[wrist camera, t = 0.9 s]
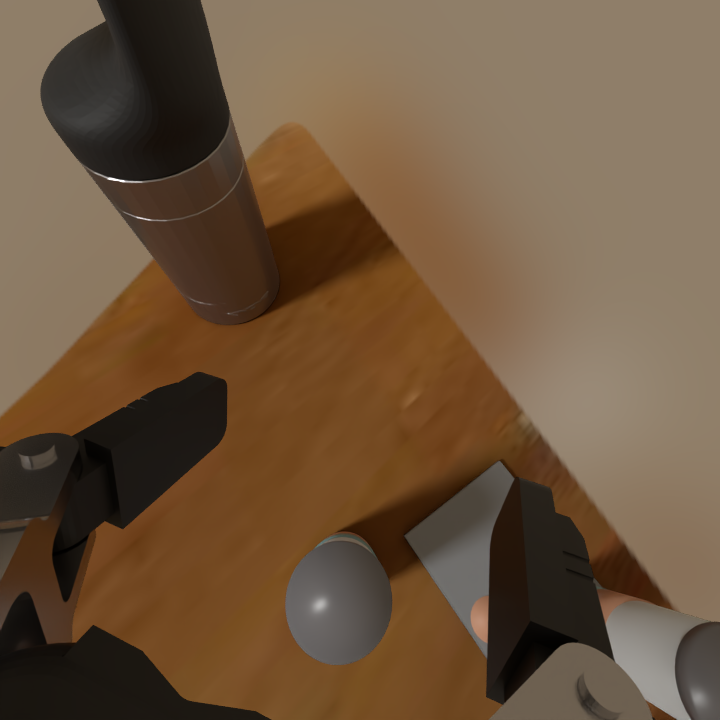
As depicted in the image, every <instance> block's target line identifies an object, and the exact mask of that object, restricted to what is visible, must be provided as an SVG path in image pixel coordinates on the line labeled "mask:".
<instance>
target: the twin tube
mask: <svg viewBox="0 0 720 720" xmlns="http://www.w3.org/2000/svg"><path fill="white" fill-rule="evenodd" d="M596 588H597V592H598V596H599V600H600V604H601V608H602V612H603V616H604V620H605V624H606V628H607V632H608V636H609V640H610V644H611V648H612V652H613V656H614V659H615V662H616V663H617V664H618V665H619V666H620V667H621V668H622V669H623V670H624V671H625V672H626V673H627V674H628V675H629V677H630V678H631V679H632V680H633V682H634V683H635V684H636V686H637V687H638V689H639V690H640V692H641V693H642V695H643V697H644V699H645V700H646V701H648V702H650V703H652V704H653V705H655V706H656V707H658V708H660V709H661V710H663V711H664V712H666V713H668V714H669V715H671V716H672V717H674V718H676V719H677V720H720V622H711V621H708V620H704V619H701V618H697V617H694V616H690V615H687V614H684V613H681V612H677V611H674V610H670V609H667V608H664V607H660V606H657V605H655V604H654V603H651V602H649V601H646V600H643V599H639V598H636V597H632V596H629V595H625V594H622V593H619V592H615V591H611V590H608V589H605V588H601V587H598V586H596Z"/></svg>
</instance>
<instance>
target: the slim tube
mask: <svg viewBox="0 0 720 720" xmlns="http://www.w3.org/2000/svg"><path fill="white" fill-rule="evenodd" d="M285 606H286V616H287V621H288V625H289V628H290V631H291V633H292V635H293V637H294V639H295V640H296V642H297V643H298V645H299V646H300V647H301V648H302V649H303V650H304V651H305V652H306V653H307V654H308V655H310V656H311V657H312V658H314V659H316V660H318V661H320V662H323V663H326V664H332V665H344V664H349V663H352V662H355V661H358V660H359V659H361V658H363V657H365V656H366V655H367V654H369V653H370V652H371V651H372V650H373V649H374V648H375V647H376V646H377V644H378V643H379V642H380V641H381V639H382V637H383V636H384V634H385V632H386V629H387V627H388V624H389V621H390V617H391V611H392V593H391V586H390V583H389V579H388V577H387V574H386V572H385V570H384V568H383V567H382V565H381V563H380V562H379V561H378V559H377V557H376V555H375V553H374V552H373V550H372V548H371V547H370V545H369V544H368V543H367V541H366V540H365V539H363V538H362V537H361V536H359V535H358V534H355V533H352V532H347V531H341V532H336V533H334V534H331V535H330V536H328V537H326V538H325V539H324V540H323V541H322V542H321V543H320V544H318V545H317V546H316V547H315V548H314V549H313V550H312V551H311V552H309V553H308V554H307V555H306V556H305V557H304V558H303V559H302V560H301V561H300V563H299V564H298V565H297V567H296V568H295V570H294V572H293V574H292V576H291V579H290V581H289V584H288V588H287V593H286V605H285Z"/></svg>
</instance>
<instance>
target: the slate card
mask: <svg viewBox="0 0 720 720" xmlns="http://www.w3.org/2000/svg"><path fill="white" fill-rule="evenodd" d="M513 481H514V478H513V476H512V475H511V474H510V473H509V471H508V470H507V469H506V468H505V467H504V465H503V464H502V463H501V462H500V461H497V462H496V463H495V464H493V465H492V466H491V467H490V468H488V469H487V470H486V471H485V472H483V473H482V474H481V475H480V476H478V477H477V478H476V479H475V480H473V481H472V482H471V483H469V484H468V485H467V486H466V487H464V488H463V489H462V490H461V491H459V492H458V493H457V494H456V495H454V496H453V497H452V498H451V499H449V500H448V501H447V502H446V503H444V504H443V505H442V506H441V507H439V508H438V509H437V510H435V511H434V512H433V513H432V514H430V515H429V516H428V517H427V518H425V519H424V520H423V521H422V522H420V523H419V524H418V525H417V526H415V527H414V528H413V529H412V530H410V531H409V532H408V533H407V534H405V535H404V537H405V538H406V540H407V541H408V543H409V544H410V546H411V547H412V549H413V550H414V552H415V553H416V555H417V556H418V558H419V559H420V561H421V562H422V564H423V565H424V567H425V568H426V570H427V571H428V572H429V574H430V575H431V577H432V578H433V580H434V581H435V583H436V584H437V586H438V587H439V589H440V590H441V592H442V593H443V595H444V596H445V598H446V599H447V601H448V602H449V604H450V605H451V606H452V608H453V609H454V611H455V612H456V614H457V615H458V617H459V618H460V620H461V621H462V623H463V624H464V626H465V627H466V629H467V630H468V632H469V633H470V635H471V636H472V638H473V639H474V640H475V642H476V643H477V645H478V646H479V648H480V649H481V651H482V652H483V654H484V655H485V657H486V658H487V644H488V601H489V558H490V541H491V536H492V531H493V528H494V524H495V522H496V519H497V517H498V515H499V512H500V510H501V508H502V505H503V503H504V501H505V499H506V496H507V494H508V492H509V489H510V487H511V485H512V483H513ZM593 583H595V584H596V586H598V587H601V585H600V584H599V583H598V582H597V580H596V579H595V578H594V580H593ZM601 588H602V587H601Z"/></svg>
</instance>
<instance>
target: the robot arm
mask: <svg viewBox="0 0 720 720" xmlns="http://www.w3.org/2000/svg"><path fill="white" fill-rule="evenodd" d="M97 1H98V3H99V6H100V8H101V10H102V13H103V15H104V17H105V19H106V21H105V22H103V23H102V24H100V25H98V26H96V27H94V28H93V29H91V30H89V31H87V32H86V33H84V34H82V35H80V36H78V37H77V38H75V39H74V40H72V41H71V42H70V43H69V44H67V45H66V46H65V47H64V48H63V49H62V50H61V51H60V52H59V53H58V54H57V55H56V56H55V57H54V59H53V60H52V61H51V63H50V64H49V66H48V68H47V70H46V72H45V74H44V77H43V79H42V83H41V101H42V106H43V109H44V111H45V114H46V116H47V118H48V120H49V121H50V123H51V125H52V126H53V128H54V129H55V131H56V132H57V133H58V135H59V136H60V137H61V139H62V140H63V141H64V143H65V144H66V145H67V147H68V148H69V149H70V151H71V152H72V153H73V154H74V156H75V157H76V158H77V159H78V160H79V162H80V163H81V164H82V166H83V167H84V168H85V169H86V171H87V172H88V173H89V175H90V176H91V177H92V179H93V180H94V181H95V183H96V184H97V185H98V186H99V188H100V189H101V190H102V192H103V193H104V194H105V195H106V197H107V198H108V199H109V200H110V202H111V203H112V204H113V206H114V207H115V208H116V210H117V211H118V212H119V213H120V215H121V216H122V217H123V218H124V220H125V221H126V223H127V224H128V225H129V226H130V228H131V229H132V230H133V232H134V233H135V234H136V236H137V237H138V238H139V239H140V241H141V242H142V243H143V245H144V246H145V247H146V249H147V250H148V251H149V253H150V254H151V255H152V257H153V258H154V259H155V260H156V262H157V263H158V264H159V266H160V267H161V268H162V270H163V271H164V272H165V274H166V275H167V276H168V277H169V279H170V280H171V281H172V283H173V284H174V285H175V287H176V288H177V290H178V291H179V292H180V293H181V295H182V296H183V297H184V299H185V300H186V301H187V303H188V304H189V305H190V306H191V308H192V309H193V310H194V311H195V312H196V313H197V314H198V315H199V316H200V317H202V318H204V319H205V320H207V321H210V322H213V323H216V324H223V325H232V324H239V323H243V322H247V321H249V320H251V319H254V318H256V317H257V316H259V315H260V314H262V313H263V312H264V311H265V310H266V309H267V308H268V307H269V306H270V305H271V304H272V302H273V301H274V299H275V298H276V295H277V292H278V290H279V282H280V279H279V272H278V269H277V266H276V262H275V259H274V256H273V252H272V248H271V245H270V242H269V238H268V235H267V232H266V228H265V225H264V222H263V218H262V215H261V212H260V209H259V205H258V202H257V199H256V195H255V192H254V189H253V185H252V182H251V179H250V175H249V172H248V169H247V165H246V162H245V159H244V155H243V152H242V149H241V146H240V144H239V140H238V136H237V133H236V130H235V126H234V123H233V120H232V117H231V113H230V110H229V106H228V102H227V99H226V96H225V92H224V89H223V86H222V82H221V78H220V75H219V71H218V66H217V62H216V58H215V54H214V50H213V45H212V41H211V37H210V33H209V29H208V26H207V22H206V18H205V14H204V11H203V8H202V4H201V0H97ZM226 427H227V383H226V381H225V380H224V379H221V378H218V377H215V376H212V375H208V374H205V373H202V372H196V373H194V374H193V375H191V376H189V377H187V378H186V379H184V380H182V381H181V382H179V383H174V384H170V385H167V386H163V387H160V388H157V389H155V390H153V391H151V392H149V393H148V394H146V395H144V396H142V397H141V398H140V400H138V399H137V400H135V401H134V402H132V403H130V404H128V405H127V407H126V408H125V407H123V408H121V409H119V410H118V411H116V412H114V413H112V414H110V415H109V416H107V417H105V418H103V419H102V420H100V421H98V422H96V423H95V424H93V425H91V426H89V427H87V428H86V429H84V430H82V431H80V432H79V433H77V434H75V435H73V436H69V435H67V434H61V433H46V434H39V435H34V436H30V437H27V438H24V439H21V440H19V441H17V442H14V443H13V444H11V445H9V446H7V447H0V720H271V719H269V718H267V717H265V716H263V715H262V714H260V713H258V712H256V711H251V710H244V709H238V708H231V707H225V706H218V705H212V704H205V703H199V702H192V701H188V700H186V699H184V698H182V697H181V696H180V695H179V694H178V693H177V691H176V690H175V689H174V688H173V687H172V685H171V684H170V683H169V682H168V681H167V680H166V678H165V677H164V676H163V675H162V674H161V673H160V671H159V670H158V669H157V668H156V667H155V665H154V664H153V663H152V662H151V661H150V660H149V658H148V657H147V656H146V655H145V654H144V652H143V651H141V650H140V649H138V648H136V647H134V646H132V645H130V644H128V643H126V642H124V641H123V640H121V639H119V638H117V637H115V636H113V635H111V634H109V633H108V632H106V631H104V630H102V629H100V628H98V627H96V626H94V625H93V626H92V627H91V628H90V629H89V630H88V631H87V632H86V633H85V634H84V635H83V636H82V637H81V638H80V639H79V640H78V641H77V642H76V643H72V625H73V617H74V612H75V608H76V605H77V601H78V598H79V594H80V591H81V587H82V584H83V580H84V577H85V574H86V570H87V567H88V563H89V560H90V556H91V553H92V549H93V546H94V542H95V538H96V531H95V529H96V528H97V527H98V526H99V525H100V524H102V523H103V522H104V521H106V522H108V523H110V524H112V525H115V526H117V527H119V528H121V529H124V528H125V527H126V526H127V525H128V524H129V523H130V522H132V521H133V520H134V519H135V518H136V517H137V516H138V515H139V514H141V513H142V512H143V511H144V510H145V509H146V508H147V507H148V506H150V505H151V504H152V503H153V502H154V501H155V500H156V499H157V498H159V497H160V496H161V495H162V494H163V493H164V492H165V491H166V490H168V489H169V488H170V487H171V486H172V485H173V484H174V483H175V482H177V481H178V480H179V479H180V478H181V477H182V476H183V475H184V474H186V473H187V472H188V471H189V470H190V469H191V468H192V467H193V466H195V465H196V464H197V463H198V462H199V461H200V460H201V459H202V458H204V457H205V456H206V455H207V454H208V453H209V452H210V451H211V450H213V449H214V448H215V447H216V446H217V445H218V444H219V443H220V441H221V440H222V438H223V436H224V434H225V431H226ZM593 580H594V576H593V572H592V568H591V565H590V564H589V556H588V552H587V548H586V544H585V540H584V538H583V536H582V535H581V533H580V532H579V530H578V529H577V528H576V526H575V525H574V523H573V522H572V520H571V519H570V517H567V516H564V515H561V514H558V513H556V512H555V507H554V501H553V496H552V491H551V489H550V488H549V487H547V486H544V485H541V484H538V483H534V482H531V481H528V480H525V479H522V478H519V477H516V478H515V479H514V481H513V483H512V485H511V487H510V489H509V492H508V494H507V496H506V499H505V501H504V503H503V505H502V508H501V510H500V512H499V515H498V517H497V519H496V522H495V524H494V528H493V531H492V536H491V541H490V558H489V601H488V644H487V687H486V697H487V698H490V699H492V700H494V701H496V702H498V703H501V704H503V706H502V707H501V708H500V709H499V710H498V711H497V712H496V713H495V714H494V715H493V716H492V717H491V718H490V719H489V720H655V719H654V718H653V717H652V715H651V712H650V710H649V707H648V705H647V702H646V701H645V699H644V697H643V695H642V693H641V692H640V690H639V689H638V687H637V686H636V684H635V683H634V682H633V680H632V679H631V678H630V677H629V675H628V674H627V673H626V672H625V671H624V670H623V669H622V668H621V667H620V666H619V665H618V664H617V663H616V662H615V659H614V656H613V652H612V648H611V644H610V640H609V636H608V632H607V628H606V624H605V620H604V616H603V612H602V608H601V604H600V600H599V596H598V592H597V588H596V584H595V583H593Z"/></svg>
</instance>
